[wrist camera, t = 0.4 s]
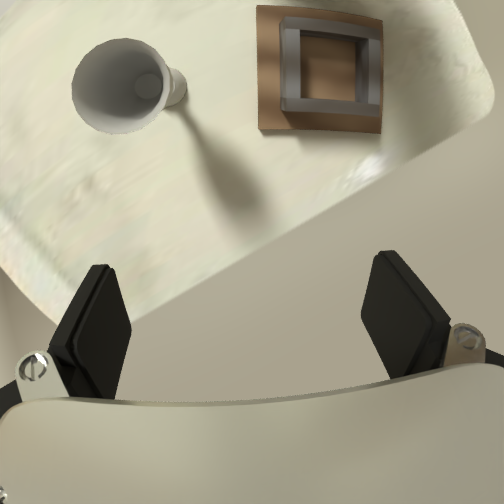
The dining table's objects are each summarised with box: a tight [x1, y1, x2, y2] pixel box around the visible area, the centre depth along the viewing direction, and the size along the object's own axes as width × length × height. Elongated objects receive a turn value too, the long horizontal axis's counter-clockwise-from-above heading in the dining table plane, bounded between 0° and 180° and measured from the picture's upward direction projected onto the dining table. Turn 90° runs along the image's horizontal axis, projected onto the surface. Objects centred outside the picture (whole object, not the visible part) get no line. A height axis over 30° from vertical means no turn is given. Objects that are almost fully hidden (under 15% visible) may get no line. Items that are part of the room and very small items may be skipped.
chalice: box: [72, 38, 187, 135], centre depth 25 cm, size 7×7×18 cm
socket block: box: [256, 5, 383, 134], centre depth 30 cm, size 16×16×5 cm
